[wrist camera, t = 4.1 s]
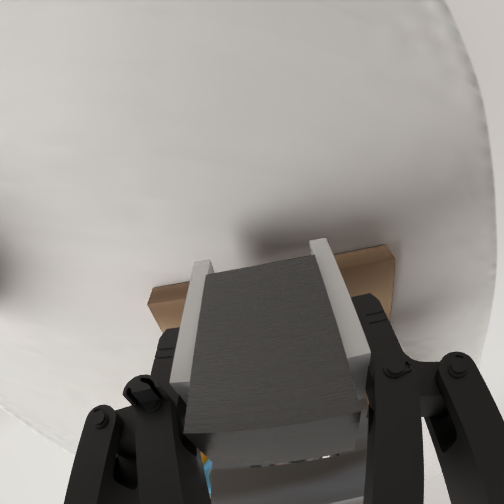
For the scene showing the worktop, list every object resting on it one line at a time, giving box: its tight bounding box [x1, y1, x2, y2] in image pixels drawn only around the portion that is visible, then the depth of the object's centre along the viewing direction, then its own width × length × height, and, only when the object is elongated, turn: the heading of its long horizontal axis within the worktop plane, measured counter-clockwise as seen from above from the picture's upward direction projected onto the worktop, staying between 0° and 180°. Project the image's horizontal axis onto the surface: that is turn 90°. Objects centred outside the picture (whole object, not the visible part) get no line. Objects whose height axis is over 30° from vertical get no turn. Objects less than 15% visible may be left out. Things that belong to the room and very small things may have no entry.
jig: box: [147, 245, 395, 504], centre depth 19 cm, size 26×14×12 cm, turn 12°
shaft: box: [183, 255, 361, 467], centre depth 16 cm, size 22×4×7 cm, turn 12°
